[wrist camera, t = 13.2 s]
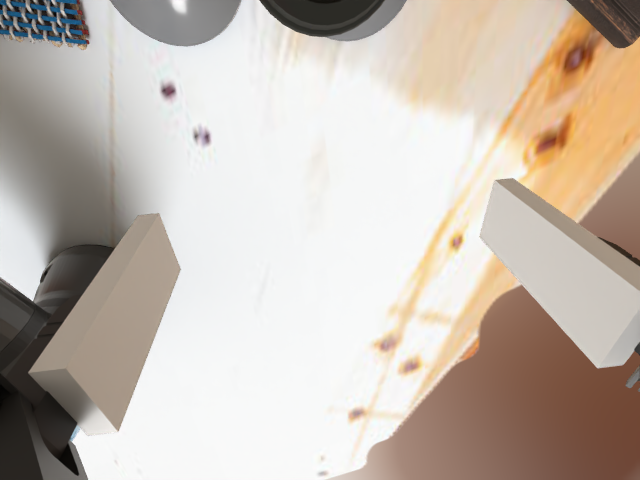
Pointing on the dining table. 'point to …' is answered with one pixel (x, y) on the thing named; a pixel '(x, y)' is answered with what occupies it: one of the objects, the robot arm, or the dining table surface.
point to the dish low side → (373, 22)
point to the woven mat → (4, 20)
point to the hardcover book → (612, 19)
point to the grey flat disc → (179, 18)
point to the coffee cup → (322, 14)
